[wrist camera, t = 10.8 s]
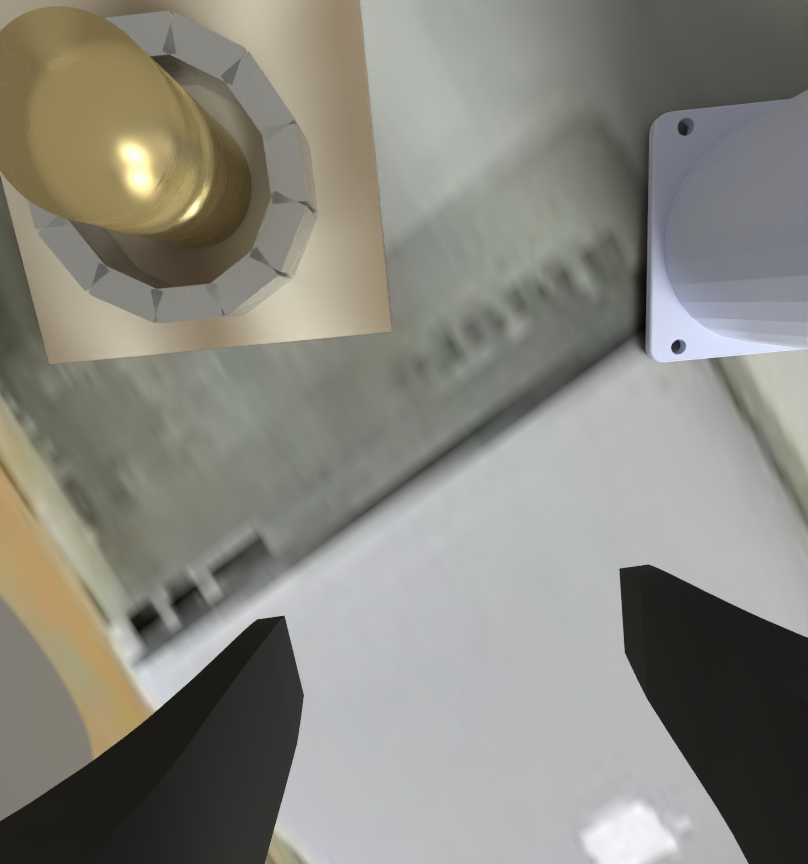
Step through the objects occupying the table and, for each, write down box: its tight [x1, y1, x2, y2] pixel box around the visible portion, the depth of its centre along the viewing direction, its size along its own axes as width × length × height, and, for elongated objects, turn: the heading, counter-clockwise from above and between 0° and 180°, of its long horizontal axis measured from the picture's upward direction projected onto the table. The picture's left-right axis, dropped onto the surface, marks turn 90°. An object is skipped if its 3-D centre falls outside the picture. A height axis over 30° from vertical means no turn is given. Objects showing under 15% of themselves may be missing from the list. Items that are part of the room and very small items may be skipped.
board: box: [0, 0, 392, 364], centre depth 16 cm, size 12×20×1 cm, turn 5°
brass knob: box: [0, 6, 252, 248], centre depth 14 cm, size 4×4×6 cm
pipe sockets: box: [28, 11, 318, 324], centre depth 15 cm, size 8×15×2 cm, turn 5°
